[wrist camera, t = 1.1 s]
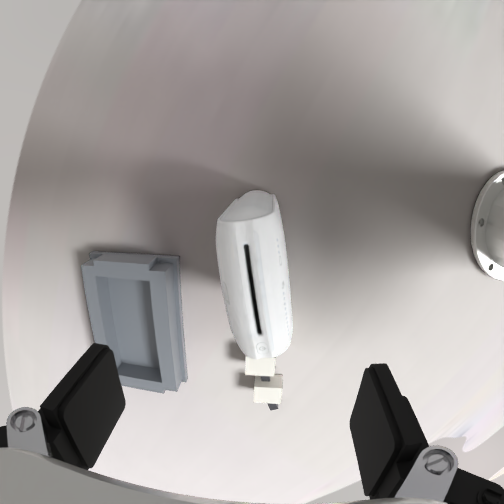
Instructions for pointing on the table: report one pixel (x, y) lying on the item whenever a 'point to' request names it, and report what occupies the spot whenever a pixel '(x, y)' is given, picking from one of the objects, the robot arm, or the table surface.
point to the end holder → (138, 316)
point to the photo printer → (255, 274)
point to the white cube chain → (265, 381)
